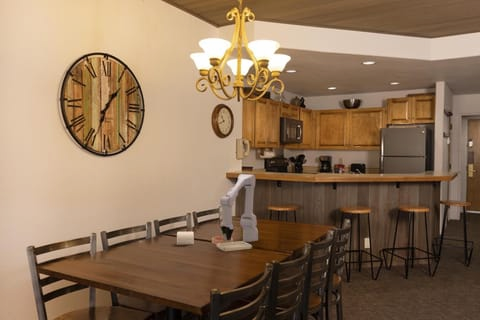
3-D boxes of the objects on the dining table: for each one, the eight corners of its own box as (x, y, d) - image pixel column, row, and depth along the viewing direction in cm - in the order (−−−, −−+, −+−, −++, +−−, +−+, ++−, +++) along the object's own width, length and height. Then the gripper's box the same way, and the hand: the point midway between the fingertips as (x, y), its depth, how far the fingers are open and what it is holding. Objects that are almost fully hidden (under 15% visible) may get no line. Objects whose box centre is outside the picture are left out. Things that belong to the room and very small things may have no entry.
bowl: (227, 240, 254) (227, 235, 254) (235, 245, 242) (235, 239, 242) (209, 242, 248) (209, 237, 248) (216, 247, 237) (216, 241, 237)
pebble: (229, 239, 234) (229, 232, 234) (232, 240, 230) (231, 234, 230) (222, 240, 232) (222, 233, 232) (225, 241, 228) (225, 234, 228)
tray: (243, 244, 242) (243, 240, 242) (252, 249, 230) (252, 245, 230) (216, 247, 235) (216, 243, 235) (224, 252, 223) (224, 248, 223)
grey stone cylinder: (227, 241, 249) (227, 234, 249) (230, 242, 245) (230, 236, 245) (221, 241, 247) (221, 235, 247) (224, 243, 243) (223, 236, 243)
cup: (193, 242, 237) (176, 243, 236) (193, 248, 248) (177, 248, 247) (193, 229, 241) (177, 230, 240) (193, 235, 252) (178, 235, 251)
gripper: (216, 215, 236) (216, 237, 236) (225, 218, 222) (225, 242, 223) (227, 214, 238) (227, 236, 239) (236, 218, 225) (236, 241, 225)
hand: (227, 239), depth 231 cm, fingers closed on pebble, 4 cm apart
